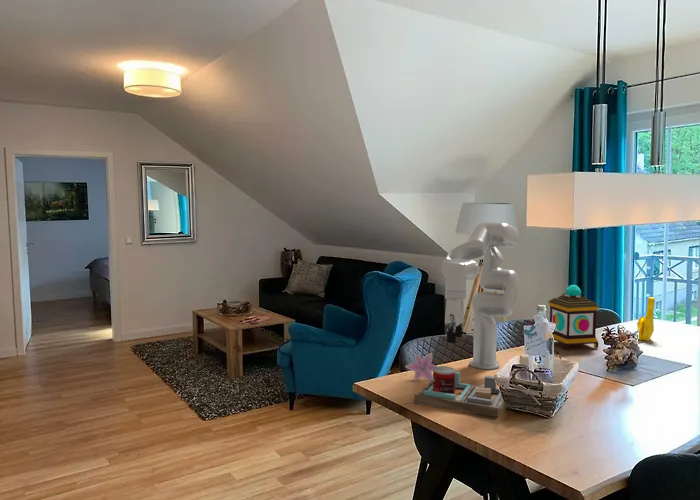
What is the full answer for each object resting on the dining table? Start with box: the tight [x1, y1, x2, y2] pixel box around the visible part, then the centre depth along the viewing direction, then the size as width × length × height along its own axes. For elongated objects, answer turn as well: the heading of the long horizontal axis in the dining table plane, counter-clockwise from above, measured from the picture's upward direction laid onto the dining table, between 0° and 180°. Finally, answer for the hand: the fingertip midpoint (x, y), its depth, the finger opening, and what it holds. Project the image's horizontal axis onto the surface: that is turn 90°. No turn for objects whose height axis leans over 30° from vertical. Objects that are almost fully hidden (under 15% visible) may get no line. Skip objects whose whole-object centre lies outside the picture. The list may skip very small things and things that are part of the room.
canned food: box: [432, 365, 456, 394], centre depth 200 cm, size 8×8×11 cm
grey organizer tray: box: [465, 375, 502, 406], centre depth 199 cm, size 22×10×6 cm, turn 155°
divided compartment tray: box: [413, 379, 505, 418], centre depth 200 cm, size 22×29×3 cm
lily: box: [405, 352, 438, 383], centre depth 224 cm, size 12×12×10 cm
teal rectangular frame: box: [423, 371, 473, 401], centre depth 205 cm, size 22×13×6 cm, turn 155°
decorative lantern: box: [548, 284, 600, 352], centre depth 273 cm, size 20×20×30 cm
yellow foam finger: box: [636, 296, 656, 342], centre depth 284 cm, size 18×8×22 cm, turn 142°
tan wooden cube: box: [475, 386, 492, 400], centre depth 196 cm, size 5×5×5 cm
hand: (454, 339), depth 212 cm, fingers open, 9 cm apart
